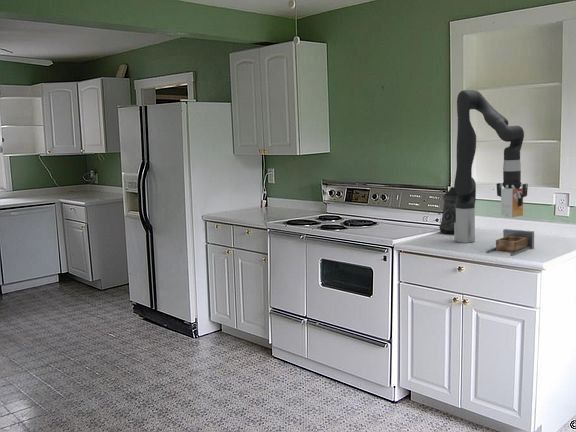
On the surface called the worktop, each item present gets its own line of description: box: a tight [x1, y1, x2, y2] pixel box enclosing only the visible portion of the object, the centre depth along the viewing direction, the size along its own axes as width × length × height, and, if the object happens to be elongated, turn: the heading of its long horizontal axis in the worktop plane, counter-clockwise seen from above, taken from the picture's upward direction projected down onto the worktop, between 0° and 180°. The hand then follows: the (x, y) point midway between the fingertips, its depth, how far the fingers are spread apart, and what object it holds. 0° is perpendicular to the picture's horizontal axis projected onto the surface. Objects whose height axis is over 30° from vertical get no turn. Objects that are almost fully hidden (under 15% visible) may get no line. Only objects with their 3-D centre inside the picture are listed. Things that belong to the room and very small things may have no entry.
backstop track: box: [485, 228, 535, 257], centre depth 272 cm, size 14×21×8 cm, turn 135°
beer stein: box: [438, 186, 457, 236], centre depth 323 cm, size 16×19×25 cm
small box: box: [500, 187, 524, 218], centre depth 271 cm, size 8×6×13 cm
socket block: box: [495, 236, 528, 253], centre depth 274 cm, size 10×12×5 cm
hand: (511, 205), depth 271 cm, fingers closed on small box, 7 cm apart
